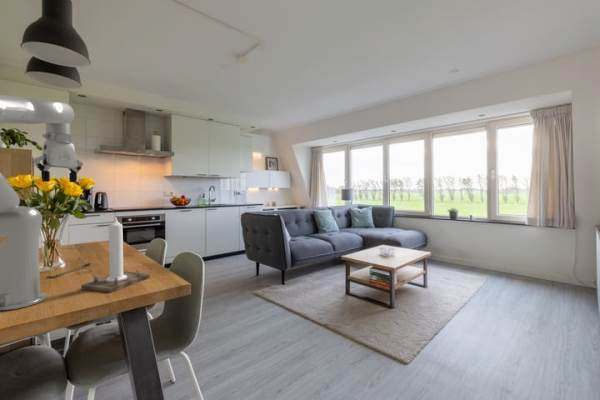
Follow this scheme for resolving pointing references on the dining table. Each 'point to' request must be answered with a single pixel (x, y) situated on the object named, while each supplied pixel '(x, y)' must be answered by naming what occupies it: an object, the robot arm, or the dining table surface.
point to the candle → (116, 251)
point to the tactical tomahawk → (68, 271)
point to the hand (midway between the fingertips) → (60, 181)
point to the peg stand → (116, 285)
